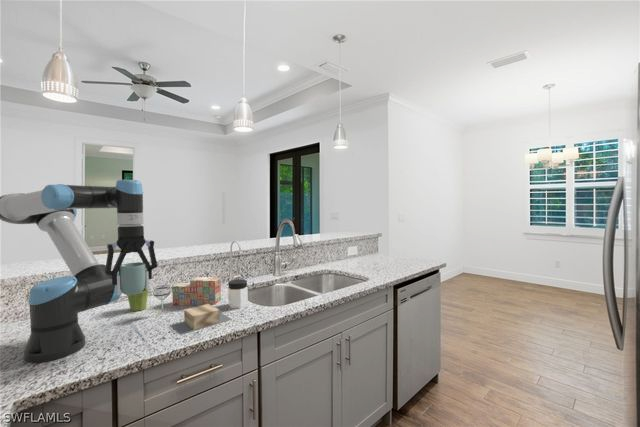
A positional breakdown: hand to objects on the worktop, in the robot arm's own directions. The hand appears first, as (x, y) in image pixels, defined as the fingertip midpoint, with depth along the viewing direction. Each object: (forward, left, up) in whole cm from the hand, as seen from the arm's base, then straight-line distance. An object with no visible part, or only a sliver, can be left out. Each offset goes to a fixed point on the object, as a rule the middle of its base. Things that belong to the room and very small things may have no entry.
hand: (132, 291), depth 103 cm
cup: (0, 0, -1) cm, 1 cm away
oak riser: (+23, -1, -17) cm, 29 cm away
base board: (+23, -1, -18) cm, 29 cm away
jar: (+43, +7, -18) cm, 47 cm away
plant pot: (+9, +37, -18) cm, 42 cm away
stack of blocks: (+31, +25, -19) cm, 44 cm away
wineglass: (+15, +22, -18) cm, 32 cm away
